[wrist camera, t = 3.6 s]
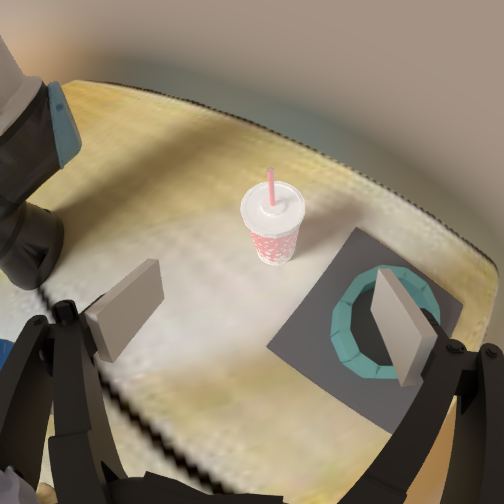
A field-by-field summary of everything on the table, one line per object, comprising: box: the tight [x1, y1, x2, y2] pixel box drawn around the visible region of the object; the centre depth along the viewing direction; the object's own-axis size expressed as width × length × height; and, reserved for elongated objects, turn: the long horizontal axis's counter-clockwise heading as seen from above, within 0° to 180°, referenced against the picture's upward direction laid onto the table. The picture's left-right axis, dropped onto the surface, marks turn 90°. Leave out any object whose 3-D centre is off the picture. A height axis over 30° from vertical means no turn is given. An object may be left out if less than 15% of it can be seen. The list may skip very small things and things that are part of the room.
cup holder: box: [266, 227, 463, 434], centre depth 26 cm, size 18×18×5 cm
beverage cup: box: [240, 168, 305, 265], centre depth 27 cm, size 6×6×14 cm
